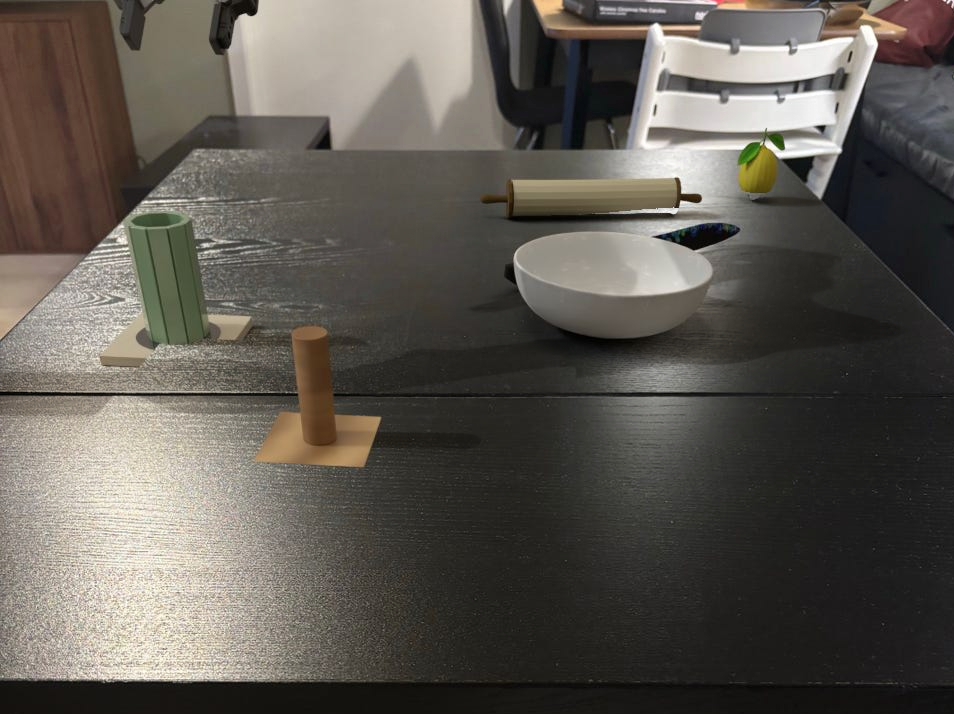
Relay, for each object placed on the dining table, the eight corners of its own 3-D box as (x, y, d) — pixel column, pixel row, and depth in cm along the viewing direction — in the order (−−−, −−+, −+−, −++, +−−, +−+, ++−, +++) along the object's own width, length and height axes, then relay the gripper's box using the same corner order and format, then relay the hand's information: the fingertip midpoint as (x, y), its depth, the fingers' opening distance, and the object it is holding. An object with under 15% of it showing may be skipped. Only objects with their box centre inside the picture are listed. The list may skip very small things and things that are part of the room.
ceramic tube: (139, 343, 93) (114, 227, 86) (160, 321, 98) (138, 209, 91) (198, 346, 93) (177, 230, 86) (216, 323, 98) (198, 211, 91)
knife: (508, 304, 111) (505, 266, 108) (501, 294, 113) (499, 257, 110) (747, 259, 115) (752, 221, 112) (736, 250, 117) (740, 213, 114)
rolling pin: (482, 223, 131) (483, 184, 128) (478, 212, 136) (478, 174, 132) (704, 220, 135) (710, 182, 131) (693, 209, 139) (699, 172, 136)
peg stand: (255, 474, 76) (236, 352, 69) (281, 424, 83) (266, 309, 76) (365, 480, 75) (356, 358, 69) (382, 429, 82) (376, 314, 76)
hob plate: (100, 365, 92) (98, 354, 91) (143, 320, 101) (141, 310, 100) (221, 371, 91) (219, 360, 91) (253, 325, 101) (252, 315, 100)
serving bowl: (662, 378, 92) (673, 308, 87) (476, 335, 99) (478, 269, 95) (728, 313, 106) (740, 249, 101) (561, 279, 114) (565, 219, 109)
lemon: (775, 197, 145) (790, 125, 139) (775, 207, 140) (791, 133, 134) (731, 194, 146) (744, 121, 140) (730, 203, 142) (743, 129, 135)
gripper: (111, -147, 87) (82, 13, 86) (258, -144, 86) (230, 20, 84) (147, -78, 95) (121, 71, 93) (283, -73, 93) (258, 78, 92)
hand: (173, 46), depth 89 cm, fingers open, 8 cm apart
